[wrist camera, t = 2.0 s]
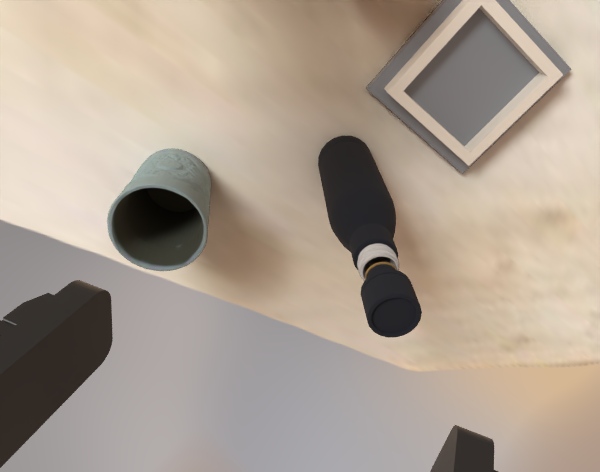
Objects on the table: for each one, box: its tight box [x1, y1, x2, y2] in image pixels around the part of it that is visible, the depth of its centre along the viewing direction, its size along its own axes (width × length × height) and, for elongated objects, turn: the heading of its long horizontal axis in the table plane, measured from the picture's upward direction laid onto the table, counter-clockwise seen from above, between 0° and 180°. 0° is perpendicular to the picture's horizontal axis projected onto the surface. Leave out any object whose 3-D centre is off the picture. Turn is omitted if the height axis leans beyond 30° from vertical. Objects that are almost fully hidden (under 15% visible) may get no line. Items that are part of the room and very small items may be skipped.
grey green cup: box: [107, 149, 211, 271], centre depth 58 cm, size 10×10×12 cm
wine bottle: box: [318, 136, 422, 337], centre depth 49 cm, size 6×6×30 cm
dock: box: [366, 0, 571, 174], centre depth 57 cm, size 16×16×3 cm
